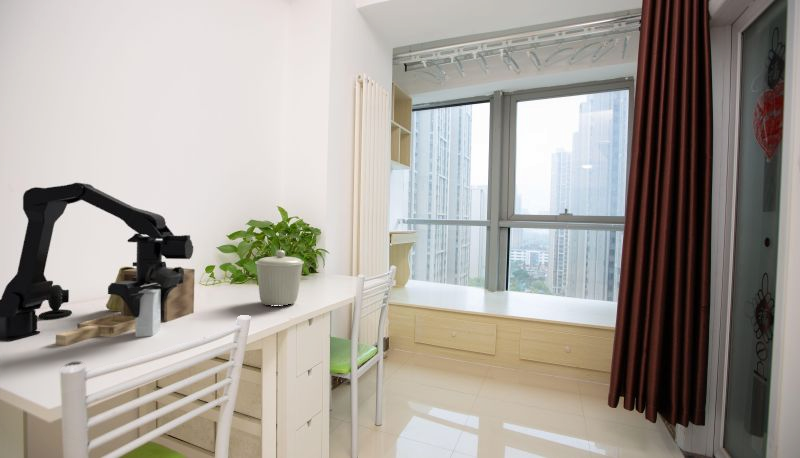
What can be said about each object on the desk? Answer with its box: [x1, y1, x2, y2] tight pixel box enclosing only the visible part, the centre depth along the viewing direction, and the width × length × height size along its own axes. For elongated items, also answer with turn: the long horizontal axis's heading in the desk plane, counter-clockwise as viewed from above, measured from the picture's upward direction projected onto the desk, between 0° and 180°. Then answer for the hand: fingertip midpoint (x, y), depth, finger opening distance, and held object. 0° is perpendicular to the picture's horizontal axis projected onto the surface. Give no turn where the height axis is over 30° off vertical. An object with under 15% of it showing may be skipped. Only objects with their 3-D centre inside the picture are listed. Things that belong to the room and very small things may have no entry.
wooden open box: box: [120, 266, 196, 323], centre depth 114 cm, size 11×17×15 cm, turn 80°
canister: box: [254, 249, 305, 306], centre depth 134 cm, size 18×18×21 cm
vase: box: [105, 266, 135, 312], centre depth 116 cm, size 6×6×14 cm
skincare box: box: [134, 289, 161, 338], centre depth 97 cm, size 6×4×12 cm
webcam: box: [37, 284, 73, 321], centre depth 108 cm, size 8×8×10 cm
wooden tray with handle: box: [55, 314, 136, 347], centre depth 95 cm, size 18×11×3 cm, turn 170°
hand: (148, 313), depth 97 cm, fingers closed on skincare box, 7 cm apart
